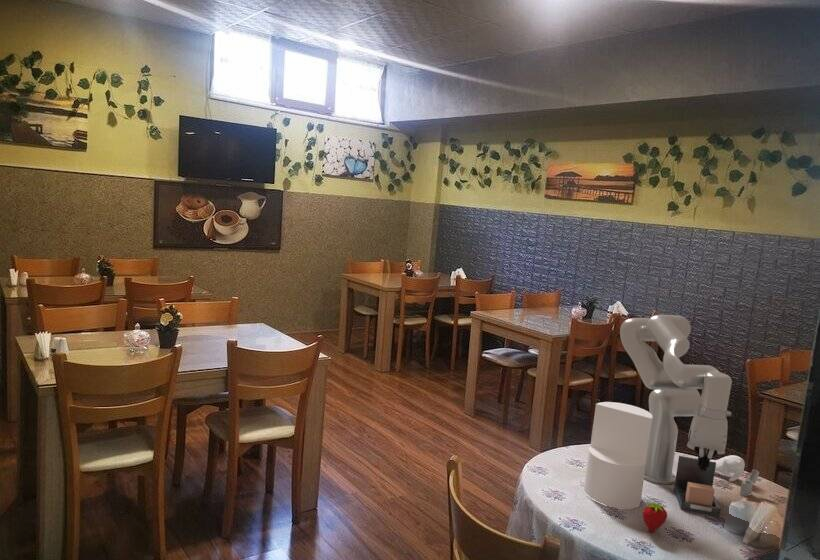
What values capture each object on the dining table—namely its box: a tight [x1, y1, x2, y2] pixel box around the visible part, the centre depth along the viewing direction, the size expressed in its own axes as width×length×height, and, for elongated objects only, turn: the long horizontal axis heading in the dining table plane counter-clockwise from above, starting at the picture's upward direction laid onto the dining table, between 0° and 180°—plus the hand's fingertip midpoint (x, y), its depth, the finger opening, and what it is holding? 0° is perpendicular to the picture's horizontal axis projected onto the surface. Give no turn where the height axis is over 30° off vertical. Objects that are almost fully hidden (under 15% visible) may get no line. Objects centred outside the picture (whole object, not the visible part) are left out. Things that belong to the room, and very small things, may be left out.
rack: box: [673, 455, 722, 518], centre depth 193 cm, size 11×14×12 cm
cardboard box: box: [685, 482, 715, 506], centre depth 190 cm, size 7×4×6 cm, turn 77°
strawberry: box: [641, 499, 668, 533], centre depth 172 cm, size 6×8×10 cm
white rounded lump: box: [710, 454, 746, 482], centre depth 216 cm, size 6×8×12 cm
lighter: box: [739, 469, 760, 497], centre depth 204 cm, size 7×2×8 cm, turn 122°
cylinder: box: [583, 401, 653, 510], centre depth 192 cm, size 17×17×28 cm
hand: (702, 468), depth 190 cm, fingers closed
